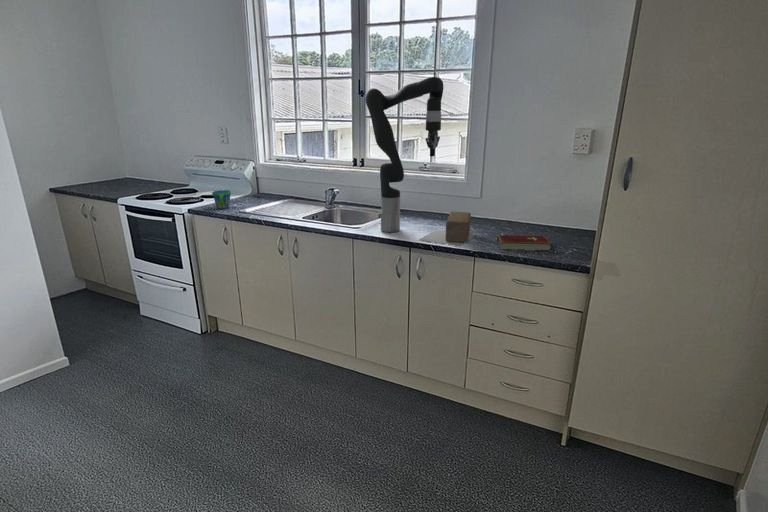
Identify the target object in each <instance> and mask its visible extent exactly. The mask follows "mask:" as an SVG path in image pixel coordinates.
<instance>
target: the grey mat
mask: <svg viewBox="0 0 768 512" xmlns="http://www.w3.org/2000/svg"><path fill="white" fill-rule="evenodd" d="M474 235H475V234H473V233H469V237H468V241H470V239H472V238H474ZM445 239H446V229H445V230H444V229H439V228H438V229H434V230H433V231H431V232H430V233H427V234H426V235H424V236H423V237H420V238H419V239H418V241H419V240H421V241H420V242H424V241H429V242H428V243H431V242H435V243H434V244H437V243H442V244H441V245H444V244H448V245H447V246H450V245H455V246H454V247H457V246H460V247H461V246H463V245H465V243H458V242H447V241H446V240H445ZM462 244H463V245H462Z"/></svg>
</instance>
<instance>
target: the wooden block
mask: <svg viewBox="0 0 768 512" xmlns="http://www.w3.org/2000/svg"><path fill="white" fill-rule="evenodd" d="M471 217H472V213H471V212H468V211H467V212H466V211H463V212H462V211H450V212H449V215H448V218H447V220H446V222H445V230H446V239H445V240H446V241H447V242H458V243H464V244H466V243H468V241H469V240H468V237H469V234H470V231H471Z"/></svg>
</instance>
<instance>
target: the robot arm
mask: <svg viewBox="0 0 768 512" xmlns="http://www.w3.org/2000/svg"><path fill="white" fill-rule="evenodd" d="M443 81H444V80H442V79H441V78H440V77H437V76H436V77H435V76H430V77H428V78H424V79H422V80H420V81H416V82H413V83H408V84H406V85H404V86H403V87H401V88H400V89H398V90H397V91H396V92H395V93H392V94H389V95H388V94H387V95H384V93H383V92H382V91H381V90H379V89H377V88H373V87H372V88H370V89H368V90H367V91H366V94H365V97H364V99H365V104H366V107H367V109H368V112H369V115H370V120H371V125H372V130H373V134H374V139H375V142H376V145H377V146H378V148H379V149H380V150H381V151H383V153H385V155H386V156H387V158H388V159H389V160H390V162H388V163H387V162H386V163H382V164H381V165H380V169H379V176H380V177H379V178H380V180H379V181H380V196H381V198H380V199H381V201H380V202H381V203H380V204H381V205H380V207H381V208H380V209H381V210H380V211H381V213H380V232H382V231H384V233H389V232H390V234H392V232H393V233H397V231H398V232H399V231H400V230H401V229H400V227H401V224H400V223H401V222H400V221H401V191H400V190H399V189H397V188H394V187H391V186H390V183H400V182H403V180H404V178H405V171H404V167H403V164H402V161H401V157H400V155H399V153H398V152H399V151H398V149H397V146H396V145H397V144H396V140H395V135H394V131H393V128H392V125H391V123H390V121H389V119H388V117H387V115H386V113H385V111H387V110H388V109H390V108H392V107H395V106H397V105H399V104H401V103H403V102H406V101H409V100H413V99H414V100H415V99H417V98H420V97H423V96H425V95H428V96H429V97H428V99H427V101H426V114H425V131H426V132H428V133H427V137H426V138H425V142H426V146H427V148H428V149H429V156H430V157H435V156H436V149H437V147H438V145H439V142H440V139H441V137H440V136H439V133H438V132H439V131H441V130H442V98H443V94H444V82H443Z"/></svg>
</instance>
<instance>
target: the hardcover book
mask: <svg viewBox="0 0 768 512" xmlns="http://www.w3.org/2000/svg"><path fill="white" fill-rule="evenodd" d="M496 242H497V244H498V245H499V244H500V245H499V247H500V246H501V247H500V248H502V249H543V250H544V249H545V250H550V249H551V245H552V242H551V241H550V240H549V238H547V237H546V236H545V235H520V234H518V235H515V234H514V235H513V234H511V235H510V234H498V235H497V237H496ZM502 249H501V250H502Z"/></svg>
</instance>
